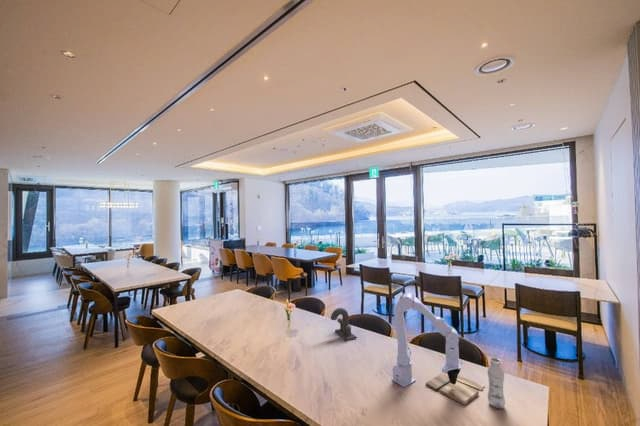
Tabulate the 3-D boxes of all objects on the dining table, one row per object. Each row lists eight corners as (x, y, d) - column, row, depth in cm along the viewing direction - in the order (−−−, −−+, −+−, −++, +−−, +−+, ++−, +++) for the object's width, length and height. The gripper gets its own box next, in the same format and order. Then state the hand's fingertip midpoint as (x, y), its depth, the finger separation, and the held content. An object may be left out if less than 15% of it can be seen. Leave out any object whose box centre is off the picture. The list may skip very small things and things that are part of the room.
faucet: (325, 333, 198) (325, 305, 199) (344, 329, 205) (344, 302, 205) (337, 343, 182) (337, 313, 182) (357, 339, 188) (357, 310, 189)
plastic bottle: (498, 400, 124) (497, 356, 124) (509, 410, 117) (507, 363, 117) (484, 400, 124) (483, 356, 124) (494, 411, 117) (493, 364, 117)
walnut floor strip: (436, 391, 131) (436, 388, 131) (425, 385, 136) (425, 382, 136) (452, 381, 139) (452, 378, 139) (441, 375, 144) (441, 373, 144)
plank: (481, 392, 131) (481, 389, 131) (455, 381, 139) (455, 379, 139) (484, 387, 134) (484, 385, 134) (458, 377, 143) (458, 375, 143)
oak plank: (464, 404, 120) (464, 401, 120) (439, 391, 130) (439, 389, 130) (478, 393, 128) (478, 390, 128) (453, 382, 138) (453, 379, 138)
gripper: (452, 363, 124) (452, 393, 124) (468, 353, 133) (468, 381, 132) (437, 356, 130) (438, 385, 130) (454, 348, 138) (454, 375, 138)
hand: (452, 383), depth 131 cm, fingers closed
